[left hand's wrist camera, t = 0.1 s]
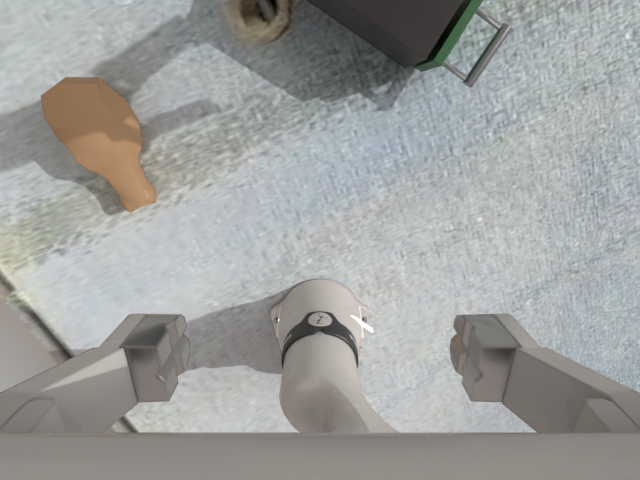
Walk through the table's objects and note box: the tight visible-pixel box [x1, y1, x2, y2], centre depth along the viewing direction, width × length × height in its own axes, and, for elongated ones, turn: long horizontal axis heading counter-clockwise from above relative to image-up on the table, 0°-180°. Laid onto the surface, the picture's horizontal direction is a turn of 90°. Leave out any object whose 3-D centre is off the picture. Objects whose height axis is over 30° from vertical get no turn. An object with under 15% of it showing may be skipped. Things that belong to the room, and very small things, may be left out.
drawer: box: [415, 0, 512, 87], centre depth 44 cm, size 24×9×9 cm, turn 60°
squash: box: [41, 77, 157, 213], centre depth 51 cm, size 11×20×9 cm, turn 19°
